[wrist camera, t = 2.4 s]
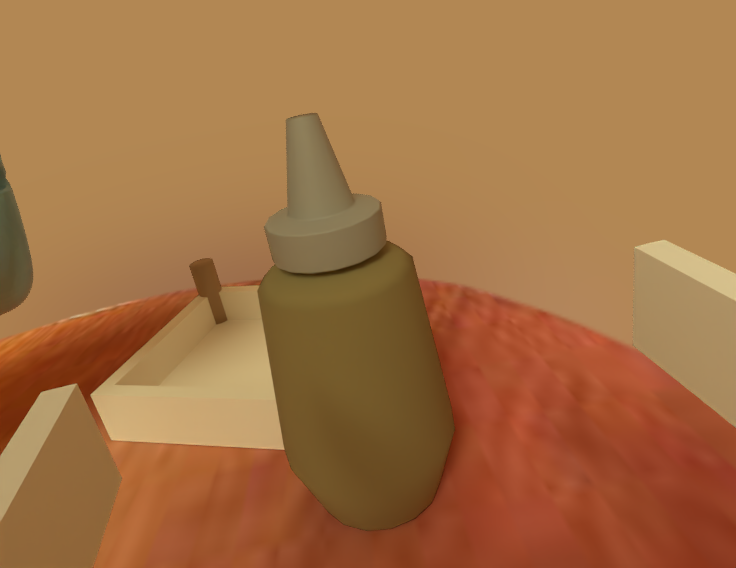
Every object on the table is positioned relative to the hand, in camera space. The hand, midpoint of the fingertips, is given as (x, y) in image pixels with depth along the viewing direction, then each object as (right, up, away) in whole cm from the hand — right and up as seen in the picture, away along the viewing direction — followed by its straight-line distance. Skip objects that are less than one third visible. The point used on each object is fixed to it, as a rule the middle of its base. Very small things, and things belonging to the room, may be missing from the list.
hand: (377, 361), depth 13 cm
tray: (-8, -4, +26) cm, 27 cm away
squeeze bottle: (0, -8, +15) cm, 17 cm away
